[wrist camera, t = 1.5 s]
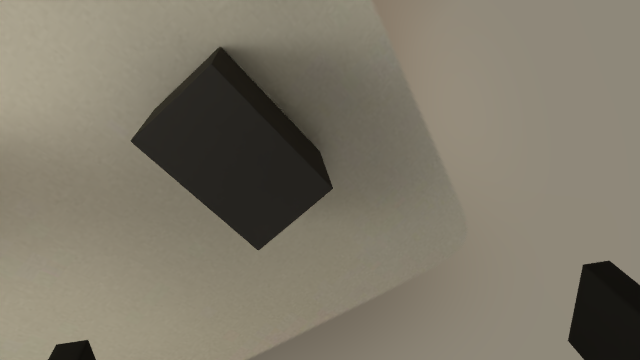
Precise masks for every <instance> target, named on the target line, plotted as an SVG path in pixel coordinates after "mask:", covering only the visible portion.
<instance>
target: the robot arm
mask: <svg viewBox="0 0 640 360" xmlns="http://www.w3.org/2000/svg"><path fill="white" fill-rule="evenodd" d="M568 341H569V342H570V344H571V345H572V346H573V347H574V348H575V349H576V351H577V352H578V353H579V354H580V355H581V356H582V358H583V359H584V360H640V285H639V284H638V283H636V282H635V281H634V280H633V279H631V278H630V277H629V276H628V275H626V274H625V273H624V272H623V271H621V270H620V269H619V268H618V267H616V266H615V265H614V264H613V263H611V262H610V261H604V262H597V263H591V264H585V265H583V268H582V273H581V278H580V283H579V288H578V293H577V298H576V303H575V308H574V313H573V318H572V323H571V328H570V334H569V338H568ZM48 360H96V359H95V356H94V354H93V351H92V349H91V346H90V344H89V341H88V340H84V341H78V342H71V343H65V344H58V345H56V346H55V348H54V350H53V352H52V354H51V355H50V357H49V359H48Z"/></svg>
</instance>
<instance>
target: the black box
mask: <svg viewBox="0 0 640 360" xmlns="http://www.w3.org/2000/svg"><path fill="white" fill-rule="evenodd" d="M131 142H132V143H133V144H134V145H135V146H137V147H138V148H139V149H140V150H141V151H142V152H144V153H145V154H146V155H147V156H148V157H149V158H151V159H152V160H153V161H154V162H155V163H156V164H158V165H159V166H160V167H161V168H162V169H163V170H165V171H166V172H167V173H168V174H169V175H170V176H172V177H173V178H174V179H175V180H176V181H177V182H179V183H180V184H181V185H182V186H183V187H185V188H186V189H187V190H188V191H189V192H190V193H192V194H193V195H194V196H195V197H196V198H197V199H199V200H200V201H201V202H202V203H203V204H204V205H206V206H207V207H208V208H209V209H210V210H211V211H213V212H214V213H215V214H216V215H217V216H218V217H220V218H221V219H222V220H223V221H224V222H225V223H227V224H228V225H229V226H230V227H231V228H233V229H234V230H235V231H236V232H237V233H238V234H240V235H241V236H242V237H243V238H244V239H245V240H247V241H248V242H249V243H250V244H251V245H252V246H254V247H255V248H256V249H257V250H260V249H261V248H262V247H263V246H264V245H266V244H267V243H268V242H269V241H270V240H272V239H273V238H274V237H275V236H277V235H278V234H279V233H280V232H281V231H283V230H284V229H285V228H286V227H287V226H289V225H290V224H291V223H292V222H293V221H295V220H296V219H297V218H298V217H299V216H301V215H302V214H303V213H304V212H305V211H307V210H308V209H309V208H310V207H311V206H313V205H314V204H315V203H316V202H317V201H319V200H320V199H321V198H322V197H324V196H325V195H326V194H327V193H328V192H330V191H331V190H332V189H333V187H332V184H331V181H330V179H329V176H328V173H327V170H326V167H325V165H324V162H323V159H322V156H321V153H320V151H319V150H318V149H317V148H316V147H315V146H314V145H313V144H312V143H311V142H310V141H309V140H308V139H307V138H306V137H305V136H304V135H303V133H302V132H301V131H300V130H299V129H298V128H297V127H296V126H295V125H294V124H293V123H292V122H291V121H290V120H289V119H288V118H287V117H286V116H285V114H284V113H283V112H282V111H281V110H280V109H279V108H278V107H277V106H276V105H275V104H274V103H273V102H272V101H271V100H270V99H269V98H268V96H267V95H266V94H265V93H264V92H263V91H262V90H261V89H260V88H259V87H258V86H257V85H256V84H255V83H254V82H253V81H252V80H251V79H250V77H249V76H248V75H247V74H246V73H245V72H244V71H243V70H242V69H241V68H240V67H239V66H238V65H237V64H236V63H235V62H234V61H233V60H232V58H231V57H230V56H229V55H228V54H227V53H226V52H225V51H224V50H223V49H222V48H221V47H219V48H218V49H217V50H216V51H215V52H214V53H213V54H212V55H211V56H210V57H209V58H208V59H207V60H206V61H205V62H204V63H203V64H201V65H200V66H199V67H198V68H197V69H196V70H195V71H194V72H193V73H192V74H191V75H190V76H189V77H188V78H187V79H186V80H185V81H184V82H183V83H182V84H181V85H180V86H179V87H178V88H177V89H175V90H174V91H173V92H172V93H171V94H170V95H169V96H168V97H167V98H166V99H165V100H164V101H163V102H162V103H161V104H160V105H159V106H158V107H157V108H156V109H155V110H154V111H153V112H152V113H151V115H150V116H149V117H148V119H147V120H146V121H145V123H144V124H143V125H142V127H141V128H140V129H139V130H138V132H137V133H136V134H135V136H134V137H133V138H132V140H131Z"/></svg>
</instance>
